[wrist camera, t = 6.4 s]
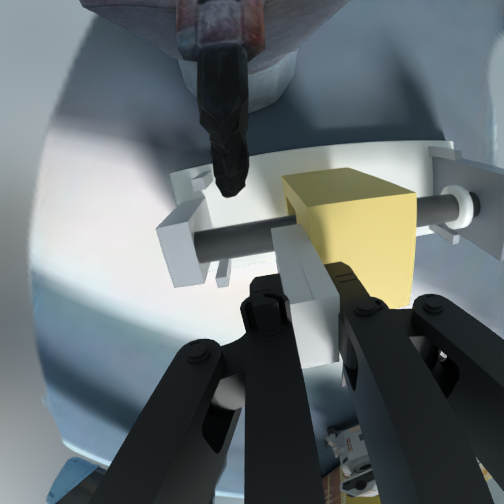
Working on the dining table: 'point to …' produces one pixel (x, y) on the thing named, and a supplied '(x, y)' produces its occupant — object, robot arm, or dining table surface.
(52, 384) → the dining table surface
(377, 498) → the picnic basket
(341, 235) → the yellow block on rod
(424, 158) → the linear slide rail
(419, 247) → the dining table surface
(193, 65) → the moka pot
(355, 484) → the figurine
